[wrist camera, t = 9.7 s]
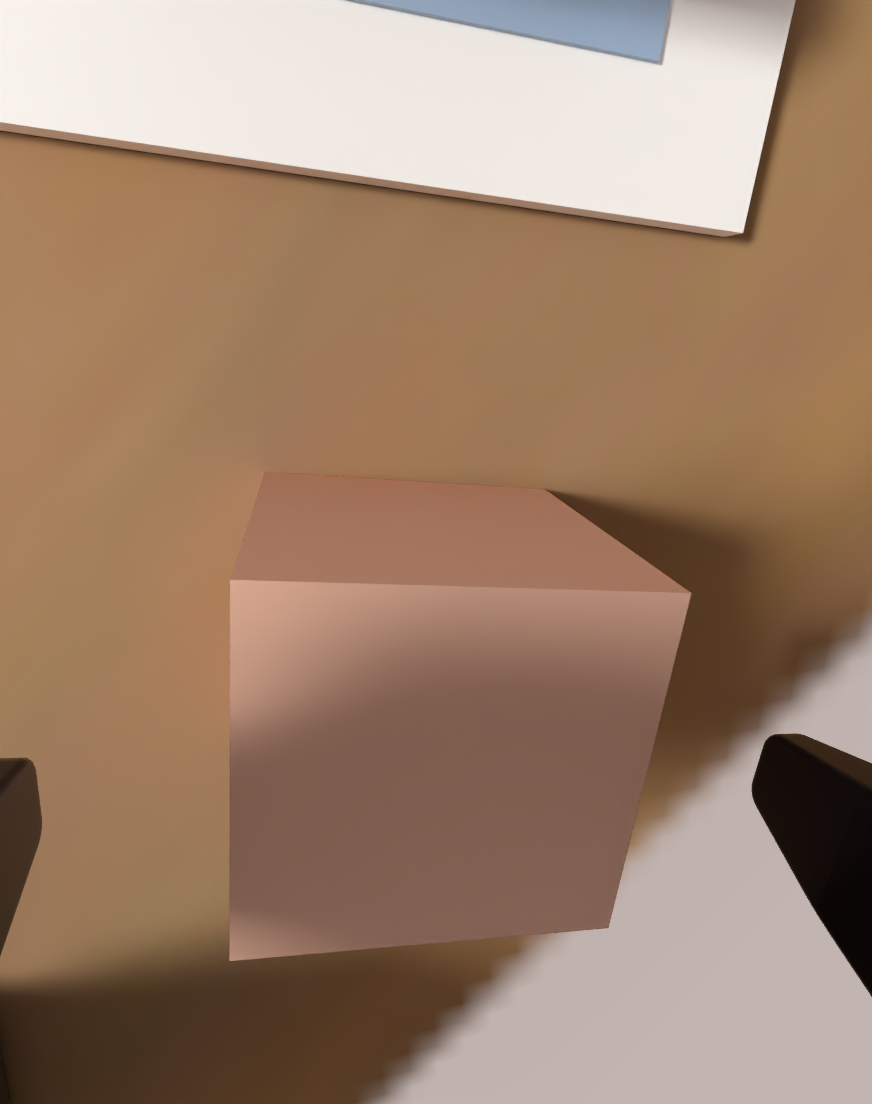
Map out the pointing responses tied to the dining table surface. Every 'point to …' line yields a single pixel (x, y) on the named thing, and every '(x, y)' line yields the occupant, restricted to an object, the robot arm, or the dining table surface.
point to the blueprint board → (422, 94)
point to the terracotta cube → (435, 714)
